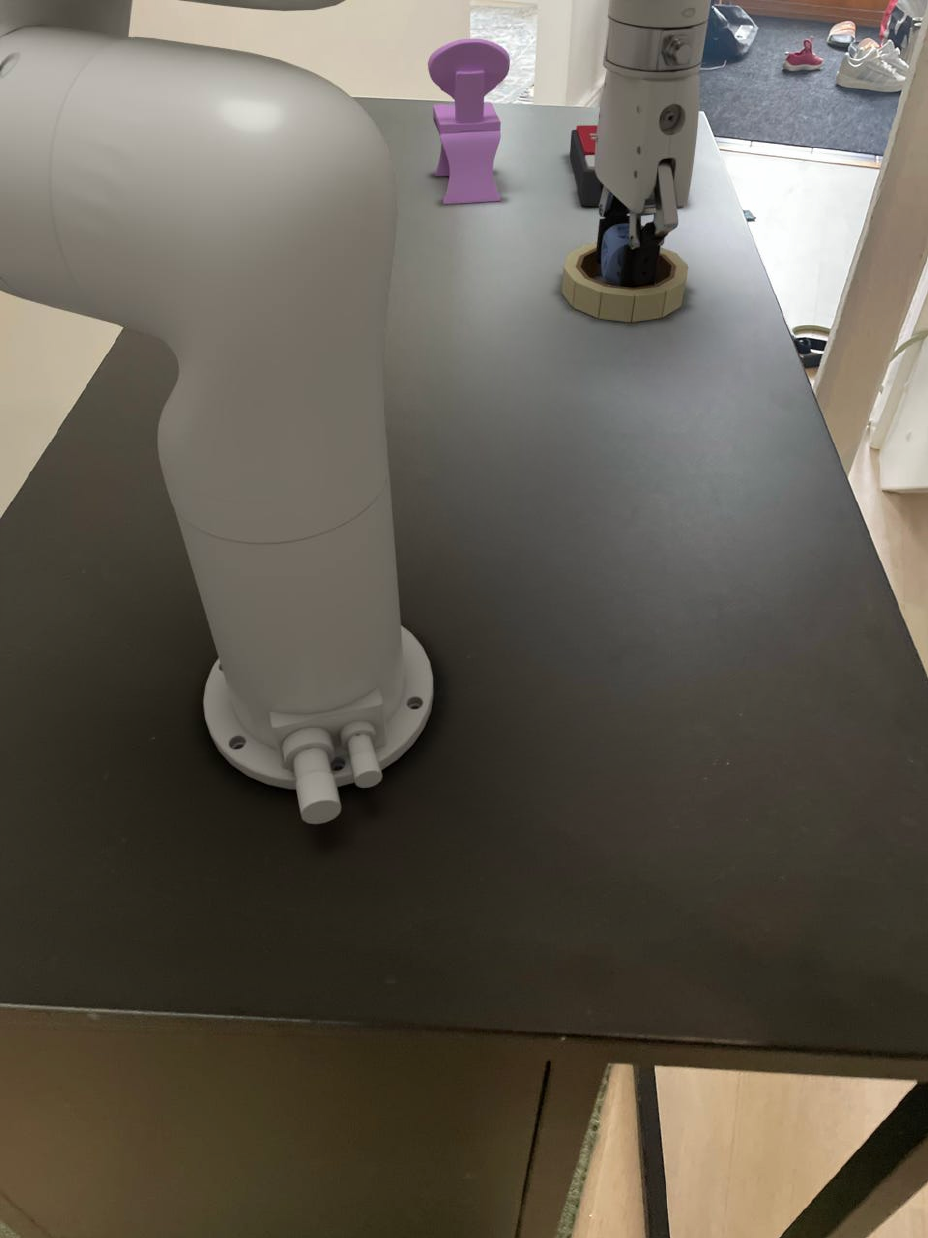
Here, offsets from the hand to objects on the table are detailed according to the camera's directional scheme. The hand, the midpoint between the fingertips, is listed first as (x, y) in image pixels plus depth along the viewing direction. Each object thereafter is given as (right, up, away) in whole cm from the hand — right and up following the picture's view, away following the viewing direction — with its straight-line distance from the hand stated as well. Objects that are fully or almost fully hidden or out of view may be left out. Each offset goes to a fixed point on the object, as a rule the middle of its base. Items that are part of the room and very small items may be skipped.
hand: (624, 272), depth 83 cm
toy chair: (-14, +17, +19) cm, 29 cm away
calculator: (+4, +18, +20) cm, 27 cm away
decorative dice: (0, 0, 0) cm, 0 cm away
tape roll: (0, -1, +2) cm, 2 cm away
